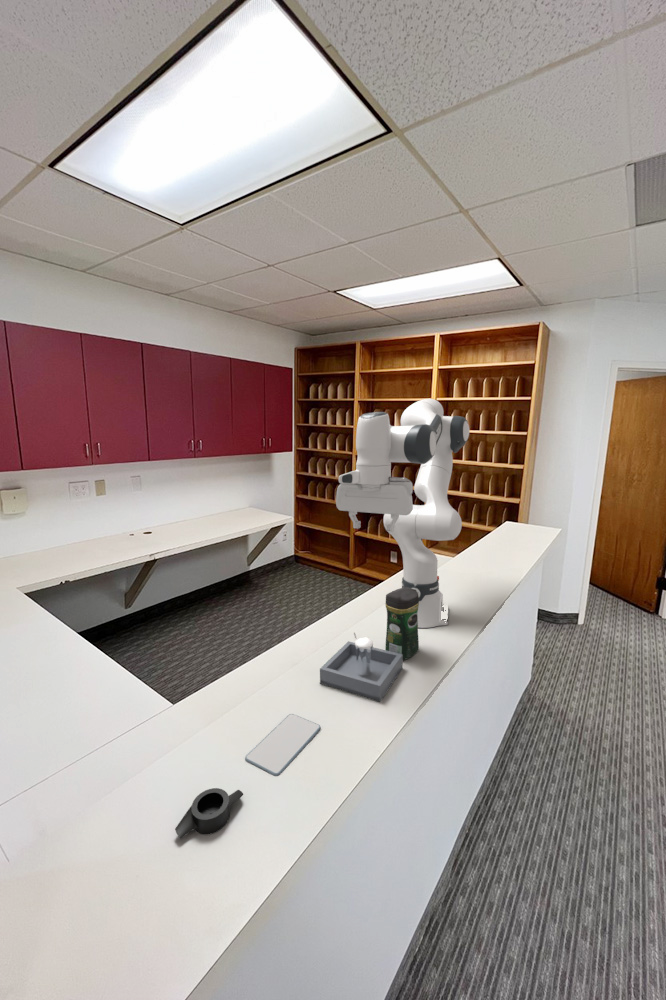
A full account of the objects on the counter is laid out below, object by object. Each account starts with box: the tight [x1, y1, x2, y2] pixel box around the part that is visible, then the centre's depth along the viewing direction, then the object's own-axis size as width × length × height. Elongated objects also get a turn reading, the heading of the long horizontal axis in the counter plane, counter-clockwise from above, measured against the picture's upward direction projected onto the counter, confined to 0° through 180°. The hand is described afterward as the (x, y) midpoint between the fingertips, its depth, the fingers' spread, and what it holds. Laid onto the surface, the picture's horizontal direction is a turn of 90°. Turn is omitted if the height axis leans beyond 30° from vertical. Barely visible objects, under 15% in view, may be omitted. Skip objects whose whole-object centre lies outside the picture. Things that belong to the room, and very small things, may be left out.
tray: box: [319, 641, 404, 703], centre depth 106 cm, size 16×16×4 cm
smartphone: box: [244, 713, 321, 777], centre depth 83 cm, size 8×1×15 cm
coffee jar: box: [384, 587, 420, 661], centre depth 116 cm, size 10×8×19 cm
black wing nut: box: [174, 787, 244, 840], centre depth 66 cm, size 8×10×3 cm
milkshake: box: [353, 632, 374, 676], centre depth 105 cm, size 5×5×10 cm
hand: (373, 529), depth 107 cm, fingers open, 8 cm apart
